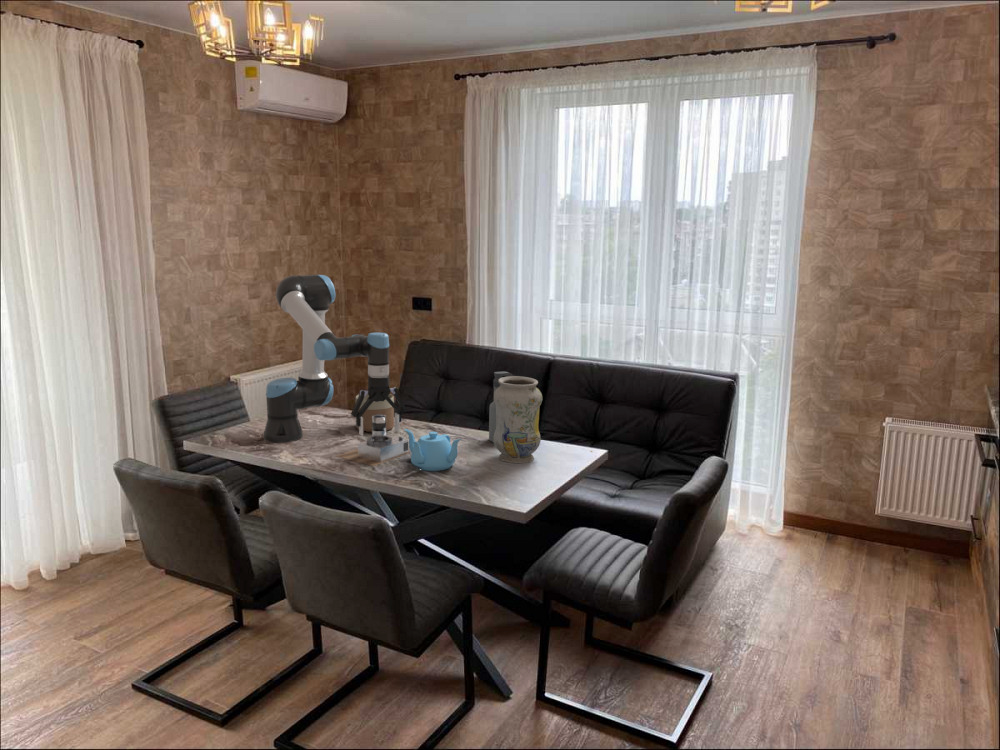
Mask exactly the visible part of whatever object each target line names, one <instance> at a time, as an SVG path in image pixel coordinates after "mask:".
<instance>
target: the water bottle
mask: <svg viewBox="0 0 1000 750" xmlns="http://www.w3.org/2000/svg"><path fill="white" fill-rule="evenodd" d="M493 374H494V379H493V380H492V381H493V383H492V384H493V386H492V387H493V394H494V393H495V391H496V389H497V388H498V387H500V384H499V382H498V380H499V379H500V378H503V377H509V376H515V375H514V374H512V373H511V372H509V371H494V372H493ZM488 411H489V417H488V418H489V420H488V421H489V422H488V440H489V441H490V442H492V443H494V441H493V436H494V433H495V430H496V405H495V402H494V400H492V402H491V403H490V404H489V410H488Z"/></svg>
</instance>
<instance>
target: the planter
mask: <svg viewBox="0 0 1000 750" xmlns="http://www.w3.org/2000/svg"><path fill="white" fill-rule="evenodd" d="M358 397H359V394H357V395H356V396H355V402H356V401H357V399H358ZM368 397H369V395H368V394H366V396H365V397H364V399H363V402H362V404H361V406H360V408H361V407H362V406H363V405H364V403H365V402H366V401H367V399H368ZM388 397H389V398H390V399H391V400H392V401H393V402H394V403H395V399H394V398H395V396H394V394H391V393H390V394H389V395H388ZM360 408H359V410H360ZM359 410H358V411H359ZM377 414H382V415H386V432H387V431H390V430H391V429H393V428H395V409H394V408H393V407H392V406H391V405H390V404H389V403H388V402H387V401H386V400H384V401H378V402H375V401H374V402H373V403H372V404H371V405H370V406H369V407H368V408H367V410H366V411H365V412H364V414H363V415H362V416H361V417H362V418H363V432H365V431H366V432H365V433H372V416H373V415H377ZM355 427H356V429H357V430H359V427H358V426H357V425H356V424H355Z"/></svg>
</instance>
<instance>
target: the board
mask: <svg viewBox="0 0 1000 750" xmlns="http://www.w3.org/2000/svg"><path fill="white" fill-rule="evenodd" d="M408 454H411V451H410V452H409V451H408V453H405V454H402V455H399V456H397V457H394V458H391V459H388V460H385V461H383V462H378V461H374V460H370V459H366V458H362V457H358V448H356V449H353V450H350V451H347V452H344V453H340V454H338V455H335V457H337V458H341V459H344V460H349V461H353V462H357V463H360V464H365V465H369V466H372V467H375V466H378V465H381V464H383V463H386V462H388V461H392V460H394V459H397V458H400V457H403V456H406V455H408Z"/></svg>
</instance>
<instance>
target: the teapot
mask: <svg viewBox="0 0 1000 750" xmlns="http://www.w3.org/2000/svg"><path fill="white" fill-rule="evenodd" d="M404 431H405V433H407V436H408V449H409V451H410V454H411V455H410V461H411V464H412V465H413V466H415V467H417V468H418V470H420V469H421V470H420V471H428V472H440V470H441V471H445V470H447V469H450V468H451V467H452V466H453V465H454V464H455V462H456V459H457V457H458V444H459V442H460V441H461V440H462V439H461V438H458V439H454V440H453V441H452V443H451V437H450V435H448V434H445V433H444V434H438V432H437V431H429V432H428V434H425V435H422V436H420V437H419V439H418V440H417V441H416V440H415V436H414V433H413V432H412V430H410V429H407V428H404Z"/></svg>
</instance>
